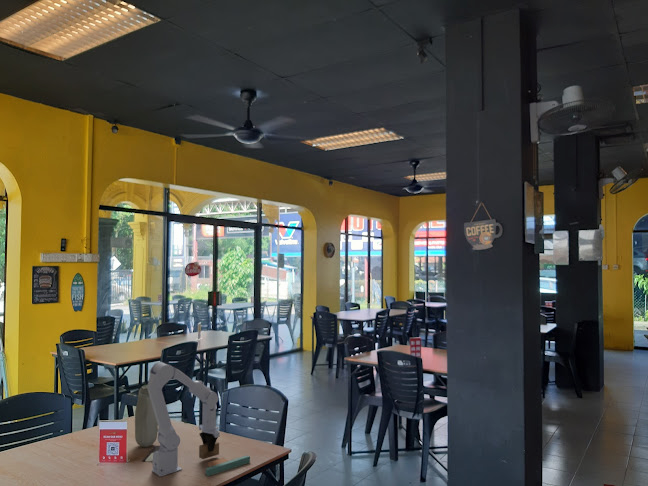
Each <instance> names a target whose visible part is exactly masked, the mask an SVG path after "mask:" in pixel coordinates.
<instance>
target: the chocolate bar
mask: <svg viewBox="0 0 648 486" xmlns="http://www.w3.org/2000/svg"><path fill="white" fill-rule="evenodd" d="M159 449H160V445H154V446H153V447H152V448H151V450H150V451H149V452H148V453H147V455H146V456H145V457H144V458H143V459H142V460H141V462H142V463H147V462H148V463H150V462H151V463H153V453H154V452H156V451H158V450H159Z"/></svg>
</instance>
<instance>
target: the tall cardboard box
mask: <svg viewBox="0 0 648 486" xmlns="http://www.w3.org/2000/svg"><path fill="white" fill-rule="evenodd" d="M198 451H199V452H198V457H199V458H200V459H201V460H204V459H208V458H211V457H214V456H215V457H216V456H218V455H220V442H218V441H216V443H215V446H214V450H213V451H211V452H209V451H208V444H203V443H202V444H200V445H199V446H198Z"/></svg>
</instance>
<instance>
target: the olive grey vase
mask: <svg viewBox="0 0 648 486" xmlns="http://www.w3.org/2000/svg"><path fill="white" fill-rule="evenodd" d="M147 386H148V384H145V385H142V386H141V387H140V388H139V389H138V393H137V395H138V396H137V401H136V402H137V403H136V407H135V412H134V437H135V438H134V439H135V442H136V444H137V445H138V446H139V447H141V448H147V447H151V446H152V445H154V443H155V442H156V441H157V440H158V431H157V430H158V428H159V427H158V424H157V420H156V417H155V413H154V410H153V407H152V403H151V400H150V396H149V393H148V389H147Z"/></svg>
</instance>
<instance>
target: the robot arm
mask: <svg viewBox="0 0 648 486" xmlns="http://www.w3.org/2000/svg"><path fill="white" fill-rule="evenodd" d="M171 380H177V381H179V382H180V383H181V384H183V385H184V386H186V387H188V392H189V393H190V394H192V395H193V396H195V397H196V398H197V399H199V400H200V401H201V403H202V414H201V415H202V419H201V420H202V421H201V422H202V424H199V425H198V430H199V431H201V432H199V437H200V439H201V440H202V445H203V444H208V451H209V452H211V451H213V450H214V446H215V443H216V442H217V441H218V439H219V437H220V436H221V435H220V434H221V433H220V431H219V430H218V428H219V427H218V426H217V424H216V423H217V421H216V420H217V414H216V413H217V403H218V401H219V396H218V394H217V392H215V391H213V390H211V387H209V386H207V385H205V384H204V381H202V380H193V379H191V378H190V377H189V376H188V375H186V373H184V372H182V371H181V370H180V369H178V368H176V367H174V366H172V365H171V364H167V363H165V362H163V361H157V362H155V363H154V364H153V365H152V367H151V368H150V370H149V377H148V382H147V385H148V386H147V389H148V393H149V396H150V400H151V403H152V407H153V410H154V413H155V417H156V420H157V424H158V430H157V431H158V433H157V441H158V443H159V444H160V445H159V446H160V449H159V450H158V451H156V452H154V453H153V462H152V469H151V472H153V473H154V474H155V475H158V476H159V477H163V476H166V475H169V474H173V473H176V472H179V471H181V470H182V468H181V467H180V466H178V461H179V460H178V459H179V456H178V455H179V454H178V453H179V452H178V450H179V446H180V444H181V437H180V435H178V434H177V432H176V430H175V428H174V426H173V425H172V422H171V417H170V414H169V411H168V407H167V404H166V401H165V396H164V393H163V387H165V385H166V384H168V382H169V381H171Z"/></svg>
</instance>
